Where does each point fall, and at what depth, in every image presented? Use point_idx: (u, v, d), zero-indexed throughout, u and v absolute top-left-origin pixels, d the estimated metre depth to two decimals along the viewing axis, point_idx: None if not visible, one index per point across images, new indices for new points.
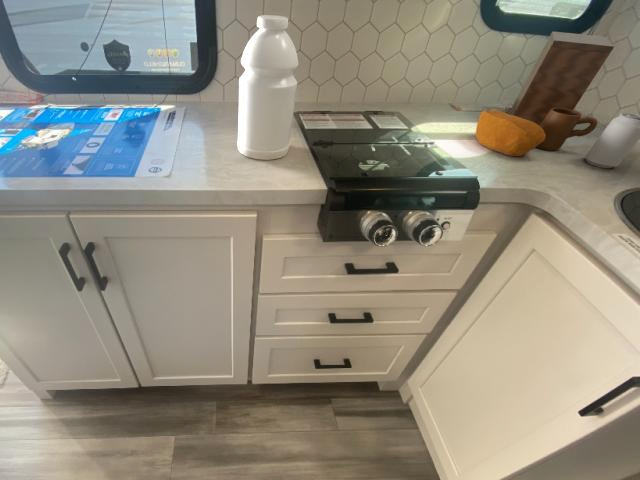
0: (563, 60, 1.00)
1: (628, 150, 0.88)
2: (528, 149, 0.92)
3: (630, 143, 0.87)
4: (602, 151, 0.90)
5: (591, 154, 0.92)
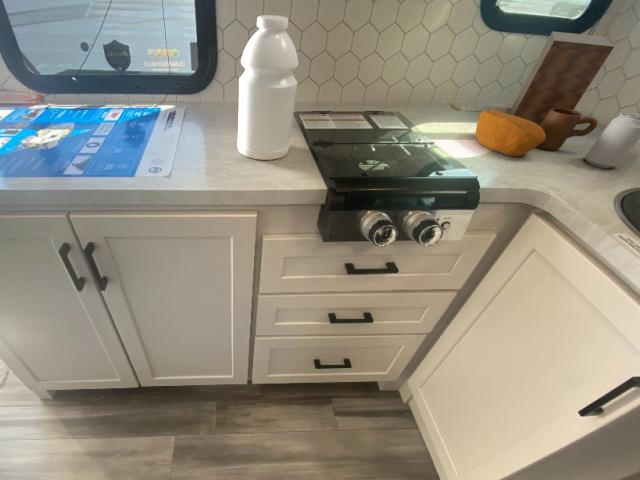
0: (563, 60, 1.00)
1: (628, 150, 0.88)
2: (528, 149, 0.92)
3: (630, 143, 0.87)
4: (602, 151, 0.90)
5: (591, 154, 0.92)
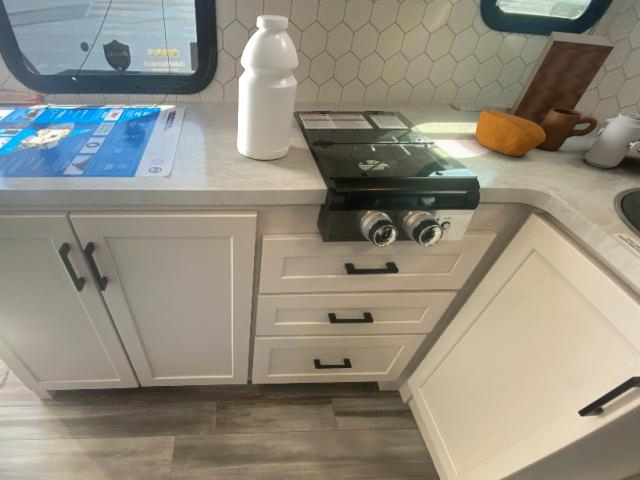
0: (563, 60, 1.00)
1: (628, 150, 0.88)
2: (528, 149, 0.92)
3: None
4: (602, 151, 0.90)
5: (591, 154, 0.92)
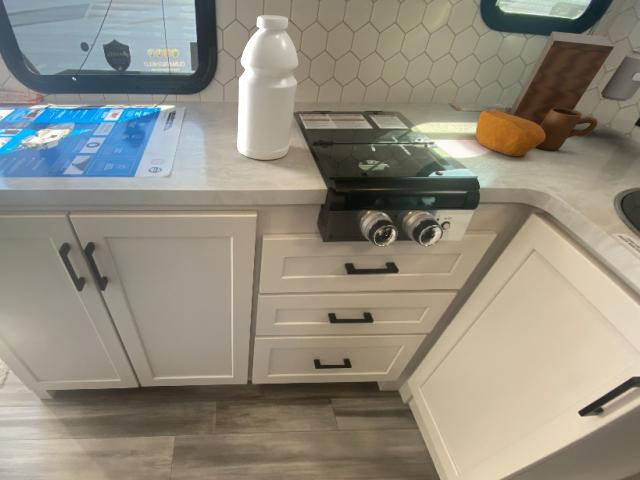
0: (563, 60, 1.00)
1: (634, 82, 0.98)
2: (528, 149, 0.92)
3: None
4: (611, 83, 1.02)
5: None
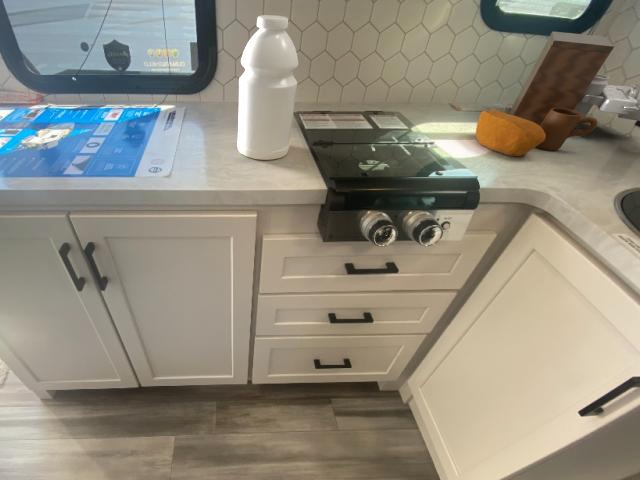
0: (563, 60, 1.00)
1: (584, 103, 1.08)
2: (528, 149, 0.92)
3: None
4: None
5: None
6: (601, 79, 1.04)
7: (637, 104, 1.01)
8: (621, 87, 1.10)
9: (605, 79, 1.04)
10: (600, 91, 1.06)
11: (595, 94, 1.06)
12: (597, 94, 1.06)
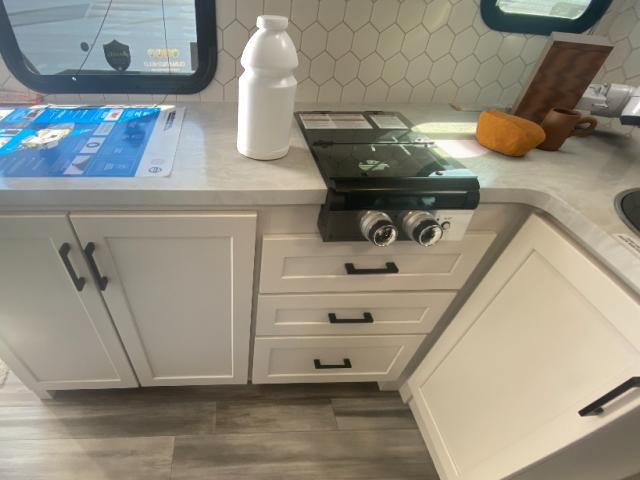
0: (563, 60, 1.00)
1: None
2: (528, 149, 0.92)
3: None
4: None
5: None
6: None
7: (606, 101, 1.04)
8: (593, 85, 1.13)
9: None
10: None
11: None
12: None
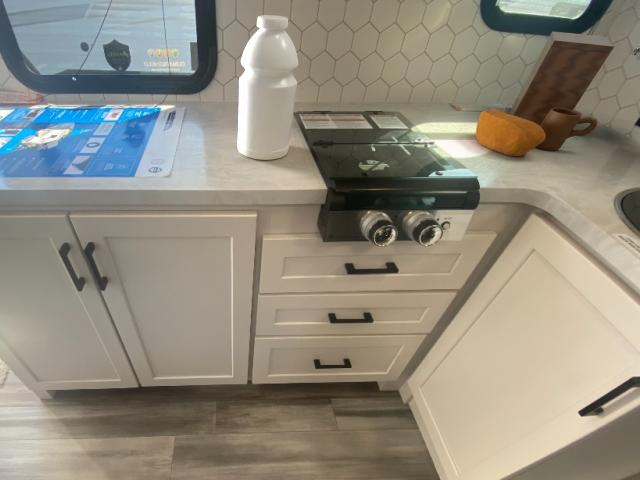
0: (563, 60, 1.00)
1: None
2: (528, 149, 0.92)
3: None
4: None
5: None
6: None
7: None
8: None
9: None
10: None
11: None
12: None
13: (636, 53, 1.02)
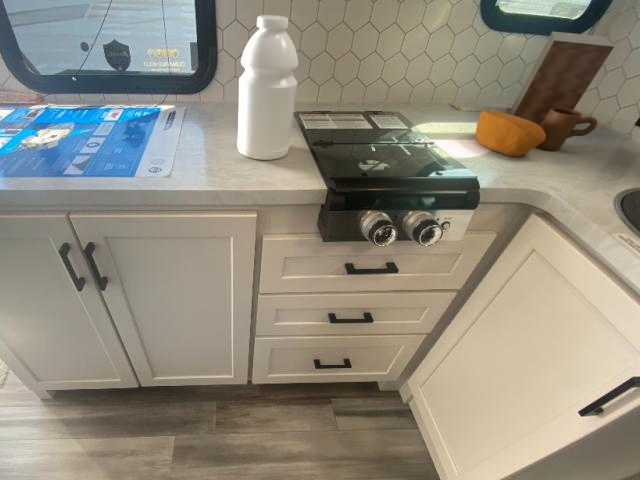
0: (563, 60, 1.00)
1: None
2: (528, 149, 0.92)
3: None
4: None
5: None
6: None
7: None
8: None
9: None
10: None
11: None
12: None
13: None
